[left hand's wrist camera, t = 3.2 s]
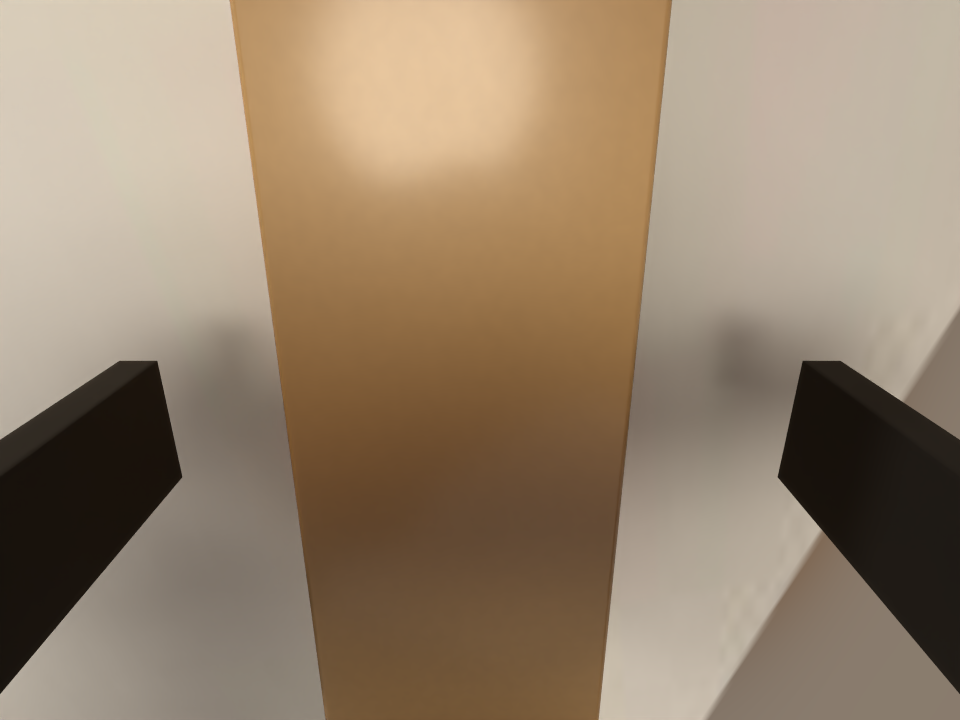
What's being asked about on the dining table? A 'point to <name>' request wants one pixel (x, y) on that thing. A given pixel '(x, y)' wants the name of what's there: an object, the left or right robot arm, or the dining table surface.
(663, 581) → the dining table surface
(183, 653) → the dining table surface
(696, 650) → the dining table surface
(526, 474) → the post
